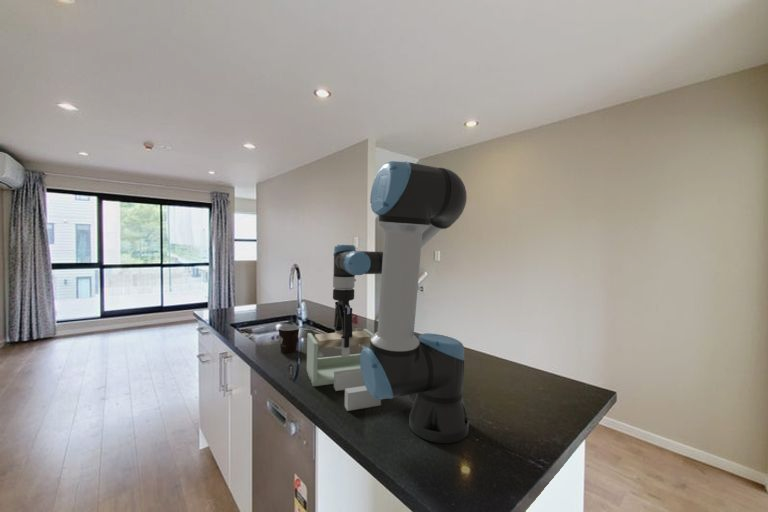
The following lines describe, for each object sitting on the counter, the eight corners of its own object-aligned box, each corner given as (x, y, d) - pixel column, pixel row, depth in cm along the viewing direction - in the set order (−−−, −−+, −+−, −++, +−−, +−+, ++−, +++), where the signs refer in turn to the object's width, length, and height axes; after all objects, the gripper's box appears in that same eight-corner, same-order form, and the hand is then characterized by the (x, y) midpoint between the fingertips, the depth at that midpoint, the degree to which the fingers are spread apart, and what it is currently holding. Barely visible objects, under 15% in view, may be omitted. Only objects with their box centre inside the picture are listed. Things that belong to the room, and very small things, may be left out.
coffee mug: (278, 348, 140) (278, 325, 140) (298, 347, 143) (299, 324, 142) (277, 357, 129) (278, 332, 129) (299, 355, 132) (300, 331, 131)
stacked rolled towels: (319, 348, 106) (319, 340, 106) (314, 341, 114) (315, 334, 114) (370, 343, 113) (370, 336, 113) (362, 337, 121) (363, 330, 121)
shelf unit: (377, 377, 112) (378, 337, 112) (313, 386, 104) (314, 343, 103) (365, 364, 124) (366, 328, 124) (306, 371, 116) (307, 333, 115)
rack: (380, 405, 93) (381, 388, 93) (347, 411, 89) (347, 393, 89) (362, 382, 107) (363, 368, 107) (333, 387, 104) (334, 371, 103)
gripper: (363, 292, 105) (361, 361, 105) (346, 284, 124) (344, 342, 125) (341, 292, 102) (339, 363, 103) (326, 285, 121) (325, 344, 122)
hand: (342, 352), depth 114 cm, fingers closed on stacked rolled towels, 8 cm apart
